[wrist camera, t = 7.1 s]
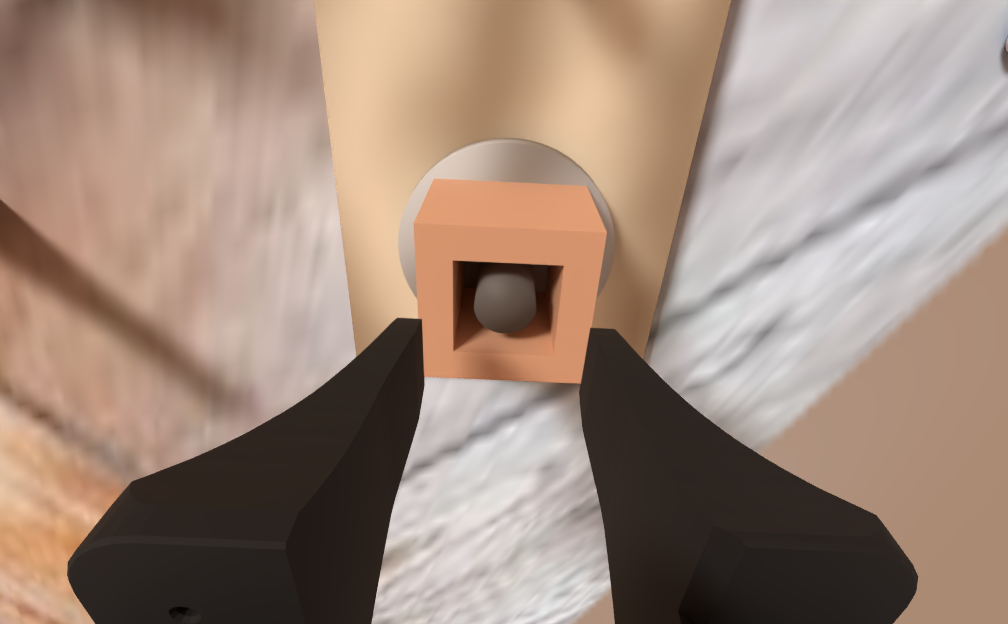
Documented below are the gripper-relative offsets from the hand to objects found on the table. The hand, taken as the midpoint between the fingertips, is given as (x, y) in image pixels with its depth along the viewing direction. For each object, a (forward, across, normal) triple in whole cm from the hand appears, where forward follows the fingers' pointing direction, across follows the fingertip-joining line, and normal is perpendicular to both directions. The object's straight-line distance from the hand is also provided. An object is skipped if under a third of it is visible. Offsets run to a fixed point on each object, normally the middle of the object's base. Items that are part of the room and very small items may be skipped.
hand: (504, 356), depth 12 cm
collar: (+6, 0, 0) cm, 6 cm away
